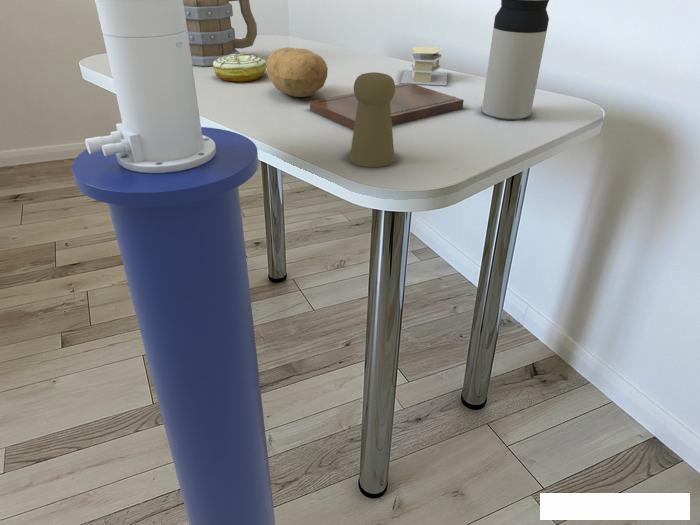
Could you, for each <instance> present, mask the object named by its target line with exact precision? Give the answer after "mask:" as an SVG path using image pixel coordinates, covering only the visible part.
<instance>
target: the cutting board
mask: <svg viewBox="0 0 700 525" xmlns="http://www.w3.org/2000/svg"><path fill="white" fill-rule="evenodd" d="M464 100H465V99H463V98H459V97H457V96H453V95H449V94H446V93H443V92H440V91H437V90H433V89H430V88H428V87H424V86H421V85H419V84H412V83H409V82H408V83H399V84H395V94H394V97H393V98H392V100H391V101H390V107H391V120H392V126H397V125H400V124H404V123H408V122H412V121H416V120H420V119H421V120H422V119H424V118H429V117H433V116H436V115H441V114H445V113H450V112H454V111H457V110H463V108H464ZM357 104H358V100H357V99H356V97H355V94H354V92H352V93H347V94H341V95H337V96H331V97H326V98H321V99H315V100H310V101H309V111H310V112H313V113H315V114H317V115H319V116H322V117H324V118H326V119H328V120H330V121H333V122H335V123H338V124H340V125H342V126H344V127H347V128H348V129H351V130H353V131H354V125H355V118H356V111H357Z"/></svg>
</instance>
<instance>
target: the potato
mask: <svg viewBox="0 0 700 525" xmlns="http://www.w3.org/2000/svg"><path fill="white" fill-rule="evenodd" d="M266 66H267V67H266V74H267V78H268V80H269V81H270V82H271V83H272V85H273V86H274V88H276V89H277V90H278V91H279V92H281V93H283V94H287V95H288V96H291V97H293V98H306V97H310V96H314V95H315V94H316V93H318V91H320V90H321V89H322V88H323V87H324V86H325V83H326V82H327V79H328V72H329V70H328V69H329V68H328V64H327V62H326V61H325V59H324V58H323V57H322V56H320V55H318V54H317V53H315V52H313V51H311V50H309V49H307V48H296V47H281V48H280V47H279V48H277V49H275V50H273V51H272V52H271V53H270V54H269V56H268V57H267V60H266Z"/></svg>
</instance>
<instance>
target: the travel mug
mask: <svg viewBox="0 0 700 525" xmlns="http://www.w3.org/2000/svg"><path fill="white" fill-rule="evenodd" d="M500 2H501V3H500V8H498V11H497V12H496V14H495V15H494V22H493V28H492V34H491V43H490V49H489V57H488V63H487V72H486V78H485V85H484V90H483V91H484V92H483V98H482V105H481V112H483V113H484V114H486V115H487V116H488V117H492V118H496V119H499V120H513V121H514V120H522V119H525V118H527V117H529V116H531V115H532V110H533V105H534V99H535V94H536V90H537V85H538V79H539V73H540V68H541V63H542V58H543V53H544V48H545V42H546V37H547V32H548V26H549V21H550V18H549V15H548V14H549V13H548V11H547V7H548V4H549V2H550V0H500Z"/></svg>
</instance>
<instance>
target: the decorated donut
mask: <svg viewBox="0 0 700 525" xmlns="http://www.w3.org/2000/svg"><path fill="white" fill-rule="evenodd" d="M266 65H267V60H265V59H264V58H263V57H260V56H257V55H253V54H241V53H240V54H231V55H227V56H224V57H221V58H218V59H216V60H215V61H214V62H213V66H212V69H213V72H214V74H215V76H216V77H217V78H219V79H222V80H223V81H225V82H234V83H235V82H237V83H238V82H244V83H245V82H251V81H256V80H258V79H259V78H261V77H263V76H264V74H265V72H266V71H267V66H266Z"/></svg>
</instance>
